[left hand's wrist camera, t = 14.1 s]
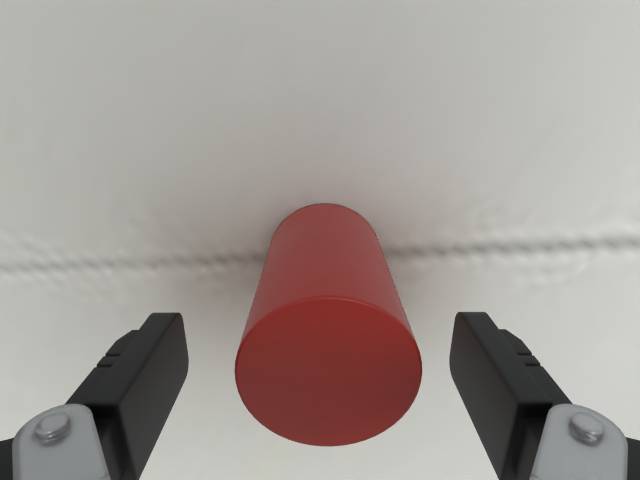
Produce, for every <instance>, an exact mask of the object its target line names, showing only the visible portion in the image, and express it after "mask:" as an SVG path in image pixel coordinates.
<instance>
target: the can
mask: <svg viewBox="0 0 640 480" xmlns="http://www.w3.org/2000/svg"><path fill="white" fill-rule="evenodd" d="M421 377H422V361H421V356H420V352H419V349H418V346H417V344H416V341H415V338H414V336H413V333H412V330H411V328H410V325H409V322H408V319H407V317H406V314H405V311H404V309H403V306H402V303H401V301H400V298H399V295H398V293H397V290H396V287H395V285H394V282H393V279H392V277H391V274H390V271H389V269H388V266H387V263H386V261H385V258H384V255H383V252H382V250H381V247H380V244H379V242H378V239H377V236H376V234H375V232H374V230H373V229H372V227H371V226H370V224H369V223H368V222H367V221H366V220H365V219H364V218H363V217H362V216H360V215H359V214H358V213H356V212H354V211H353V210H351V209H348V208H346V207H343V206H339V205H334V204H316V205H311V206H307V207H304V208H302V209H299V210H298V211H296V212H294V213H293V214H291V215H290V216H288V217H287V218H286V219H285V220H284V221H283V222H282V223H281V225H280V226H279V227H278V229H277V230H276V232H275V234H274V236H273V239H272V242H271V245H270V248H269V252H268V255H267V258H266V261H265V265H264V268H263V271H262V274H261V278H260V281H259V284H258V287H257V291H256V294H255V297H254V300H253V304H252V307H251V310H250V313H249V317H248V320H247V323H246V326H245V330H244V333H243V336H242V339H241V343H240V346H239V349H238V352H237V357H236V361H235V380H236V385H237V388H238V392H239V394H240V397H241V399H242V401H243V403H244V404H245V406H246V408H247V409H248V411H249V412H250V413H251V414H252V415H253V417H254V418H255V419H257V420H258V421H259V422H260V423H261V424H262V425H263V426H265V427H266V428H268V429H269V430H270V431H272V432H274V433H276V434H278V435H279V436H282V437H284V438H286V439H289V440H292V441H295V442H298V443H302V444H307V445H314V446H341V445H348V444H353V443H357V442H361V441H364V440H367V439H369V438H372V437H374V436H376V435H378V434H380V433H382V432H384V431H385V430H387V429H388V428H390V427H391V426H393V425H394V424H395V423H396V422H397V421H398V420H399V419H401V418H402V417H403V415H404V414H405V413H406V412H407V411H408V409H409V408H410V406H411V405H412V403H413V402H414V400H415V398H416V395H417V393H418V390H419V387H420V383H421Z"/></svg>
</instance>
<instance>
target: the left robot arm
mask: <svg viewBox="0 0 640 480" xmlns="http://www.w3.org/2000/svg"><path fill="white" fill-rule="evenodd" d="M188 363H189V360H188V351H187V344H186V337H185V331H184V324H183V318H182V315H181V314H180V313H152V314H151V315H150V316H149V317H148V319H147V320H146V321H145V322H144V324H143V325H142V326H141V328H140V329H139V330H132V331H130V332H129V333H127V334H126V335H124V336H123V337H121V338H120V339H118V340H117V341H116V342H115V343H114V344H113V345H112V347H111V348H110V349H109V350H108V352H107V353H106V356H105V357H103V358H102V359H101V360H100V361H99V363H98V364H97V367H96V368H94V369H93V370H92V371H91V373H90V374H89V375H88V376H87V378H86V379H85V380H84V381H83V382H82V384H81V385H80V386H79V387H78V389H77V390H76V391H75V392H74V394H73V395H72V396H71V397H70V398H69V400H68V401H67V402H66V403H65V405H61V406H57V407H54V408H51V409H49V410H46V411H44V412H42V413H40V414H39V415H37V416H35V417H34V418H32V419H31V420H30V421H28V422H27V423H26V424H25V425H24V426H23V427H22V428H21V429H20V430H19V431H18V432H17V434H16V436H15V437H14V438H11V439H8V440H4V441H0V480H139V478H140V476H141V474H142V472H143V470H144V467H145V465H146V463H147V461H148V459H149V457H150V454H151V452H152V450H153V448H154V446H155V444H156V442H157V439H158V437H159V435H160V433H161V431H162V429H163V426H164V424H165V422H166V420H167V418H168V416H169V414H170V411H171V409H172V407H173V405H174V403H175V401H176V398H177V396H178V394H179V392H180V390H181V388H182V386H183V383H184V381H185V379H186V376H187V372H188ZM450 371H451V375H452V378H453V381H454V383H455V385H456V387H457V389H458V391H459V394H460V396H461V398H462V400H463V402H464V404H465V407H466V409H467V411H468V413H469V415H470V418H471V420H472V422H473V424H474V426H475V428H476V431H477V433H478V435H479V437H480V439H481V442H482V444H483V446H484V448H485V450H486V452H487V455H488V457H489V459H490V461H491V463H492V465H493V468H494V470H495V472H496V474H497V476H498V479H499V480H640V441H639V440H635V439H631V438H627V437H625V436H624V434H623V432H622V431H621V430H620V429H619V428H618V427H617V426H616V425H615V424H614V423H613V422H612V421H610V420H609V419H608V418H606V417H605V416H603V415H601V414H600V413H598V412H596V411H594V410H591V409H589V408H586V407H583V406H579V405H574V404H572V403H571V401H570V400H569V399H568V398H567V396H566V395H565V394H564V393H563V391H562V390H561V389H560V388H559V386H558V385H557V384H556V383H555V381H554V380H553V379H552V378H551V376H550V375H549V374H548V373H547V371H546V370H545V369H544V368H543V366H540V363H539V361H538V360H537V359H536V358H535V356H532V353H531V352H530V350H529V349H528V348H527V347H526V345H525V344H524V343H523V342H522V340H520V339H519V338H517V337H516V336H514V335H513V334H511V333H510V332H509V331H507V330H506V329H498V328H497V326H496V325H495V324H494V322H493V321H492V320H491V318H490V317H489V316H488V314H487V313H485V312H458V313H457V315H456V317H455V323H454V330H453V336H452V343H451V350H450Z"/></svg>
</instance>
